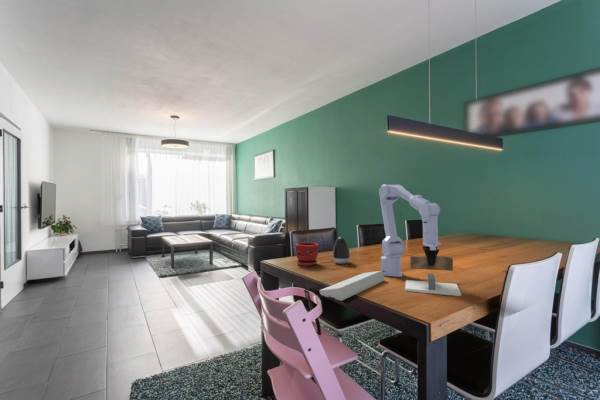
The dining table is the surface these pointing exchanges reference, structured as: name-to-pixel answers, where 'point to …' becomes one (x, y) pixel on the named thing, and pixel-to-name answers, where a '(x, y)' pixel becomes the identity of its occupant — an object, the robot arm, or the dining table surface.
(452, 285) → the grey board
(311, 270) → the dining table surface
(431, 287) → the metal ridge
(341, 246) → the dark grey rounded shape
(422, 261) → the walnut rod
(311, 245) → the plant pot
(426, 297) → the dining table surface
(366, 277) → the decorative molding
